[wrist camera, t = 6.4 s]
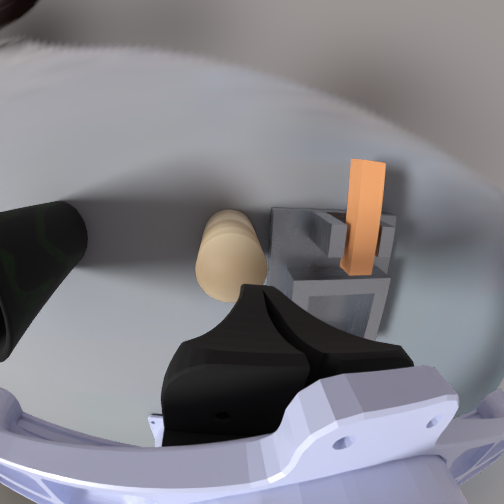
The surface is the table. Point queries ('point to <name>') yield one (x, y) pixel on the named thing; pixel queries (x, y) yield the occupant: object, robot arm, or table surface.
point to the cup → (34, 262)
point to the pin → (363, 216)
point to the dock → (328, 268)
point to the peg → (229, 256)
